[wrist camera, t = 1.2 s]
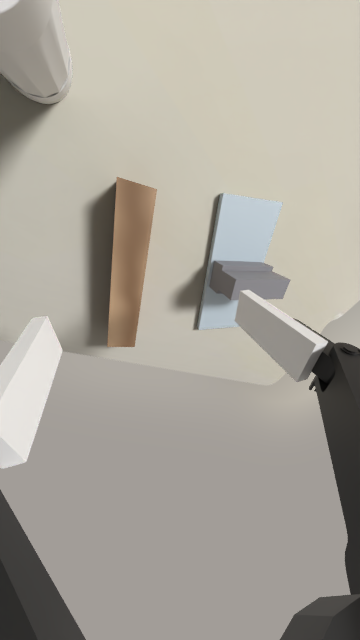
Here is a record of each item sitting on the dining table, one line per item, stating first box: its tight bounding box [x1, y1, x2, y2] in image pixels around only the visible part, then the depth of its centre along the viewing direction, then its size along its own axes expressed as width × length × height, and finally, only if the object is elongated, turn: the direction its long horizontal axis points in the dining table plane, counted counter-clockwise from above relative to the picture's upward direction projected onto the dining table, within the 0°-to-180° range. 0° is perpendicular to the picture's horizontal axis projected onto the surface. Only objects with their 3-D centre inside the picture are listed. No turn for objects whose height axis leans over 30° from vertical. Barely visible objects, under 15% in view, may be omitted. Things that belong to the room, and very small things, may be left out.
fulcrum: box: [197, 193, 290, 330], centre depth 29 cm, size 10×22×8 cm, turn 174°
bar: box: [107, 177, 157, 347], centre depth 26 cm, size 4×21×5 cm, turn 167°
